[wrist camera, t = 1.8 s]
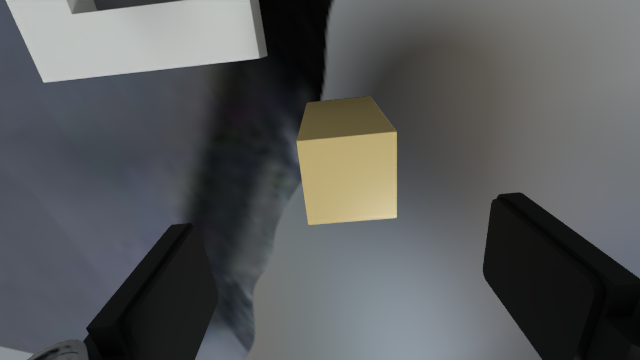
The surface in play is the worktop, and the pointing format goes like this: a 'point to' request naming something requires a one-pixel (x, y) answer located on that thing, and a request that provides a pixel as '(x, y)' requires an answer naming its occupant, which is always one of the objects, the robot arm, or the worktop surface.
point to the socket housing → (136, 34)
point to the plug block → (347, 161)
